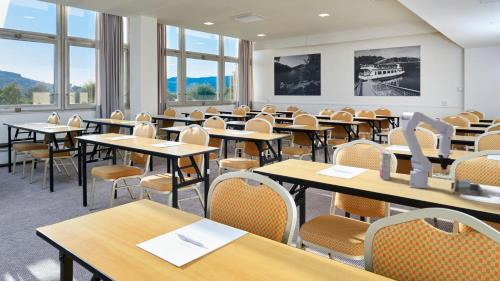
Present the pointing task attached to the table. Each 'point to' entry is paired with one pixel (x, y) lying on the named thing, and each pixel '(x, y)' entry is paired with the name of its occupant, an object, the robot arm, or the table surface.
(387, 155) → the candy bar box
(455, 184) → the blue block
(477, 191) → the tray
